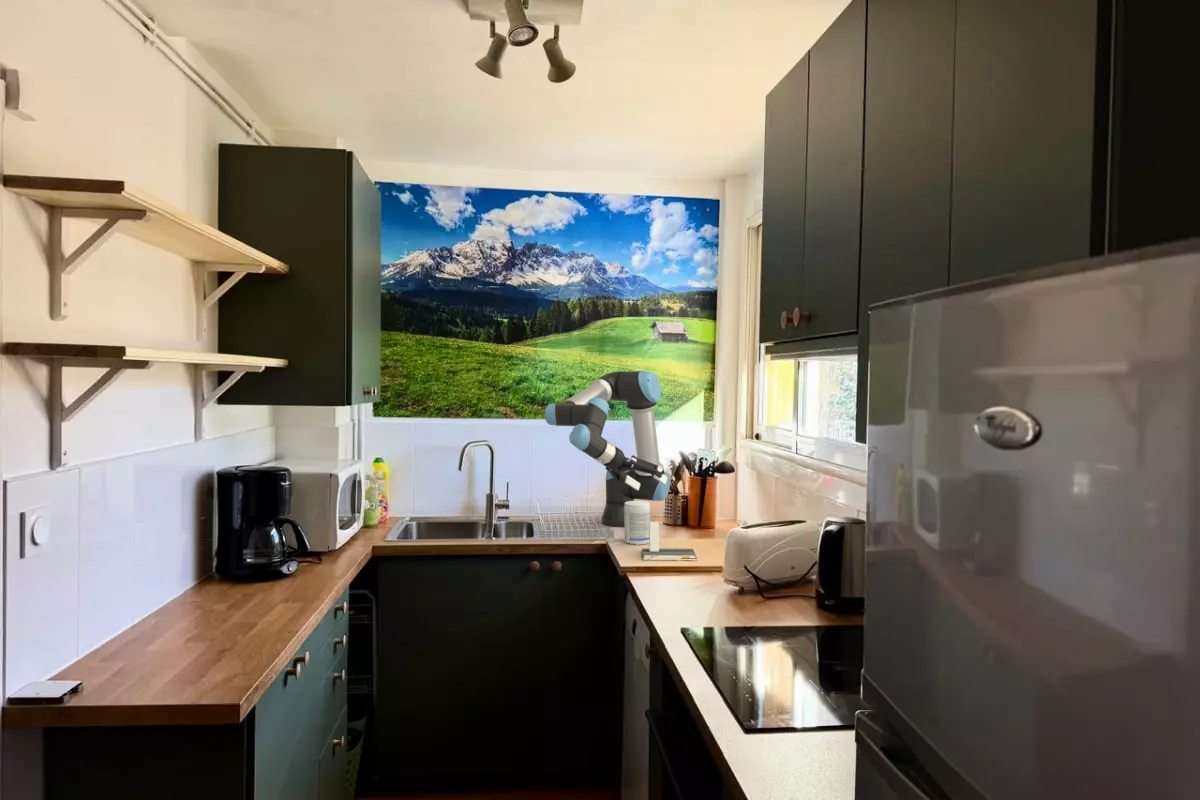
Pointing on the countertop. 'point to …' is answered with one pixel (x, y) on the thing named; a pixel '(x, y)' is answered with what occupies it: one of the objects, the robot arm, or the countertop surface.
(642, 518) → the supplement tub
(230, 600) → the countertop surface
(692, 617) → the countertop surface
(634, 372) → the robot arm
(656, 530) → the switch tab
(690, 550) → the switch housing
